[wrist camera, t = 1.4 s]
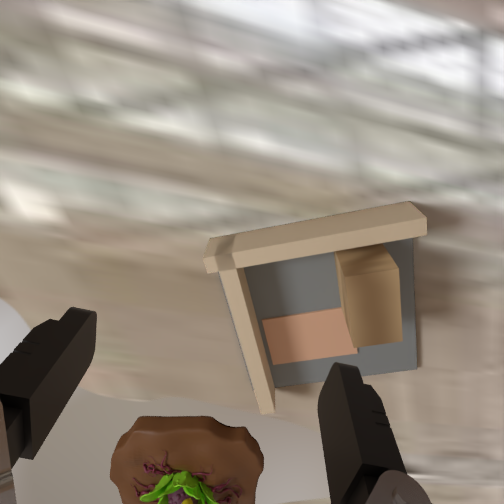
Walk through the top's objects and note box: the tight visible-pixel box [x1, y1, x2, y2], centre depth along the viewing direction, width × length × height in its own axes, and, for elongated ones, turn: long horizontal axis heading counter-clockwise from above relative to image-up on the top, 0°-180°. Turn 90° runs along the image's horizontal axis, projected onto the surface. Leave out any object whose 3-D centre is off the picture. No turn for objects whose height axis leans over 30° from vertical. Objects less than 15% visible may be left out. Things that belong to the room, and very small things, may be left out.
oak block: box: [334, 243, 403, 348], centre depth 32 cm, size 4×7×6 cm, turn 13°
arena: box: [203, 201, 427, 414], centre depth 35 cm, size 18×19×4 cm
